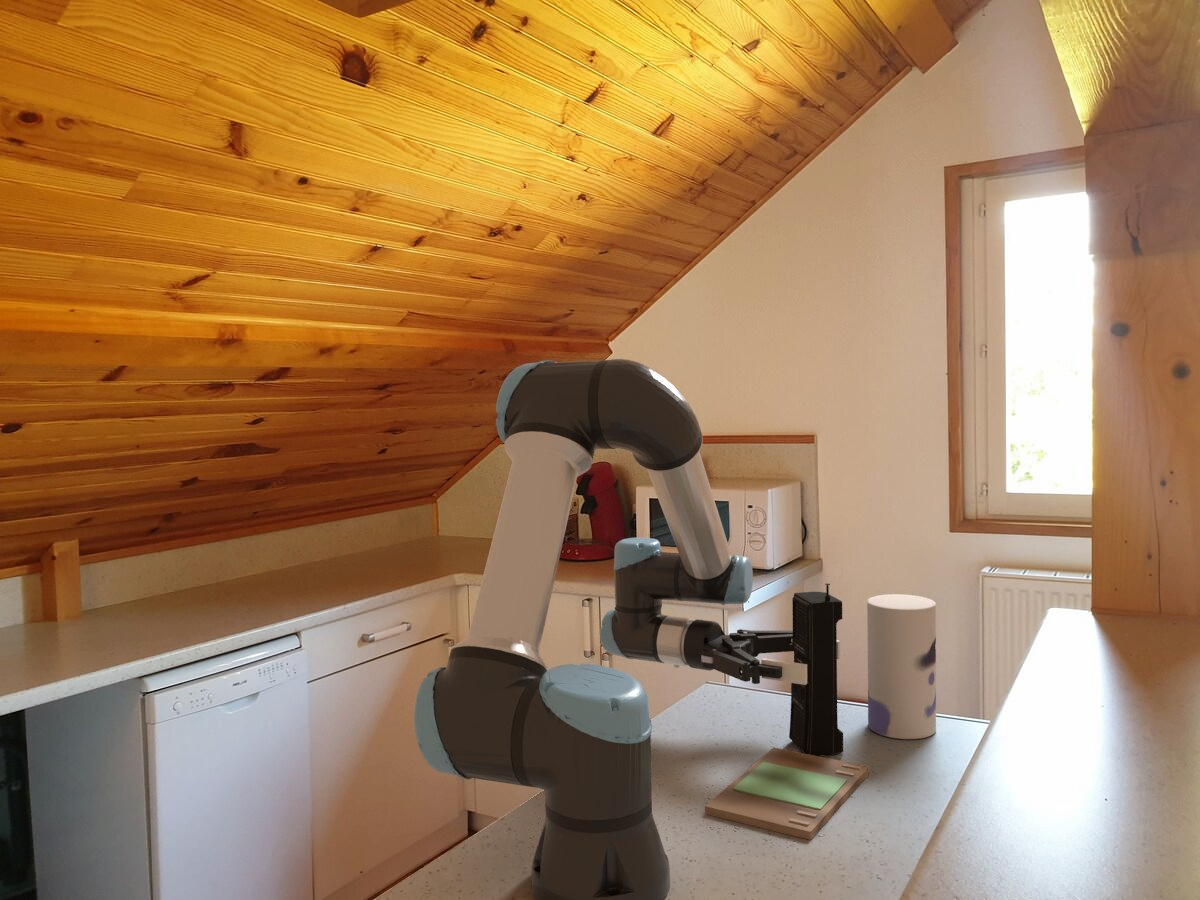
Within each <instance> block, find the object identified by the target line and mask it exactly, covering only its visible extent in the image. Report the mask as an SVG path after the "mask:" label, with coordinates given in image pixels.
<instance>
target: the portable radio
mask: <svg viewBox="0 0 1200 900" xmlns="http://www.w3.org/2000/svg"><path fill="white" fill-rule="evenodd" d="M830 585H831V583H825V587H826V589H825V590H826V591H825V592H824V591H803V592H794V594H793V597H792V599H791V600H792V601H791V602H792V604H791V605H792V631H793V649H794V651H793V662H794V663H801V664H807V684H806V685H802V684H796V683H790V685H791V687H790V715H789V716H790V721H789V732H788V733H789V735H788V738H789V739H790V740H791V742H792V743H793V744H794V745H795V746H796V747H797V748H798V749H799V751H801V753H804V754H809V755H814V756H819V757H826V756H828V757H829V756H834V755H838V754H840V753H843V752H844V732H843V731H842V730H841V729H839V728H838V727H839V726H838V665H837V664H838V659H837V640H838V639H837V634H838V633H837V625H838V623H839V622H840V620H843V601H842V600H840V599H838V598H837V597H835V596H833V595H831V594H830V592H829V591H830V590H829V589H830V588H829V586H830Z"/></svg>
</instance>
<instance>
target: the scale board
mask: <svg viewBox="0 0 1200 900" xmlns="http://www.w3.org/2000/svg"><path fill="white" fill-rule="evenodd" d="M869 775H870V766H868V765H864V764H858V763H854V762H848V761H844V760H840V759H833V758H829V757H825V756H814V755H809V754H804V753H803V752H800V751H799V752H798V751H793V750H789V749H784V748H778V747H773V748H771V749H770V750H769V751H768V752H767V753H766V754H765V755H763V756H762V757H761V758H760V759H758V760H757V761H756V762H755V763H754V764H753V765H751V766H750V767H749V768H747V770H746V771H744V772H743V773H742V774H741V775H739V776H738V777H737V778H735V780H734V781H732V782H731V783H730V784H729V785H727V787H725V788H724V789H722V791H721V792H720V793H718V794H717V795H715V797H714V798H712V799H711V800H710V801H709V802H707V803H706V804H705V806H704V814H706V815H707V816H708V815H709V816H712V817H713V816H714V817H717V818H720V819H724V820H727V821H728V820H729V821H733V822H737V823H741V824H744V825H749V826H752V827H757V828H760V829H764V830H769V831H773V832H776V833H781V834H785V835H789V836H792V837H797V838H799V839H800V838H801V839H805V840H809V841H811V840H812V839H813V838H814V837H815V836H816V835H817V833H819V831H821V829H822V828H823V827H824V826H825V825H826V823H827V822H828V821H829V820H830V819H831V818H832V817H833V815H834V814H835V813H836V812H837V811H838V809H839V808H840V807H841V806H842V805H843V804H844V803H845V801H846V800H847V799H848V798H849V797H850V796H851V795H852V794H853V793H854V792H855V791H856V789H857V788H858V787H859V786H860V785H861V784H862V782H864V780H865V779H866V778H867V777H868V776H869ZM866 776H867V777H866ZM860 783H861V784H860Z"/></svg>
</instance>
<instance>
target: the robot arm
mask: <svg viewBox="0 0 1200 900" xmlns="http://www.w3.org/2000/svg"><path fill="white" fill-rule="evenodd" d="M495 405H496V406H495V412H496V413H497V418H496V419H495V426H496V431H497V434H498V436H499V438H500V440H501V441H502V443H504V451H505V453H506V454H507V456H508V457H509V459H510V461H511V466H510V469H509V473H508V476H507V477H508V478H507V481H506V485H505V490H504V493H503V497H502V502H501V505H500V509H499V513H498V517H497V520H496V525H495V527H494V533H493V536H492V539H491V543H490V544H491V545H490V548H489V552H488V555H487V559H486V564H485V567H484V571H483V576H482V578H481V583H480V587H479V591H478V596H477V599H476V602H475V607H474V610H473V615H472V619H471V623H470V626H469V631H468V635H467V636H466V637H465V638H463V640H461V641H459V642H458V643H456V644H455V645H453V646H451V649H450V652H449V656H448V659H447V660H448V661H447V663H446V666H440V667H437V668H434V669H432V670H430V671H429V672H428V673H427V675H426V677H425V678H424V679H422V681H421V683H420V685H419V688H418V691H417V694H416V698H415V702H414V703H415V704H414V710H413V712H414V713H413V724H414V727H413V728H414V734H415V739H416V740H417V746H418V750H419V752H420V754H421V756H422V758H423V759H424V760H425V762H426V764H427V765H428V766H429V767H431V768H432V769H433V770H435V772H436V771H437V772H439V773H442V774H448V775H452V776H457V777H459V778H461V779H463V780H471V779H476V780H483V781H490V782H497V783H502V784H509V785H516V786H522V787H528V788H529V787H530V788H537V789H541V790H543V791H544V803H545V805H544V807H545V818H544V822H543V825H542V828H541V829H542V830H541V833H540V835H539V840H538V843H537V846H536V849H535V853H534V857H533V860H532V864H531V870H530V871H531V872H530V873H531V892H532V895H533V897H534V899H535V900H664V899H665V898H666V896H667V895H668V893H669V890H670V888H671V887H670V886H671V878H670V877H671V874H670V872H671V870H670V869H671V868H670V862H669V858H668V855H667V854H666V852H665V851H666V850H665V848H664V845H663V841H662V839H661V836H660V833H659V829H658V827H657V824H656V822H655V819H654V816H653V807H652V806H653V802H652V801H653V800H652V799H653V798H652V794H653V793H652V792H653V790H652V787H653V786H652V746H651V745H652V744H651V743H652V739H651V738H652V737H651V736H652V732H653V731H652V728H653V724H652V720H651V717H650V708H649V697H648V693H647V690H646V688H645V687H644V686H643V685H642V683H640V682H639V681H638V680H637V678H635V677H634V676H632V675H631V674H628V673H627V672H624V671H622V670H619V669H616V668H614V667H610V666H609V667H608V666H605V665H600V664H591V663H580V665H579V664H574V663H568V664H561V665H557V666H554V667H551V668H549V667H548V666H547V664H546V662H545V661H544V660H543V658H542V656H541V655H540V649H541V648H540V647H541V643H542V639H543V634H544V630H545V625H546V622H547V615H548V611H549V607H550V602H551V598H552V594H553V590H554V584H555V579H556V575H557V571H558V566H559V562H560V557H561V552H562V547H563V543H564V538H565V534H566V529H567V524H568V520H569V516H570V511H571V507H572V502H573V498H574V493H575V487H576V485H577V484H576V483H577V479H578V477H579V476H581V475H583V474H584V473H587V472H588V471H589V470H590V469H591V468H592V465H593V460H594V456H595V451H596V450H611V449H612V450H616V449H621V450H626V451H629V452H631V453H632V456H633V458H634V460H635V462H636V463H637V465H639V466H640V467H641V468H643V469H645V470H646V471H647V473H648V476H649V479H650V481H651V484H652V487H653V489H654V492H655V494H656V496H657V499H658V503H659V505H660V507H661V510H662V512H663V515H664V518H665V520H666V523H667V526H668V528H669V531H670V533H671V536H672V539H673V541H674V543H675V546H676V549H677V552H664V551H662V547H661V542H660V541H659V540H658V539H656V538H653V537H652V538H649V537H628V538H623V539H621V540H618V542H616V544H615V546H614V557H613V558H614V561H613V562H614V563H613V568H612V569H613V578H614V579H613V580H614V581H613V582H614V601H615V602H614V604H615V607H614V608H613V609H610V610H609V611H607V612H606V613H605V615H604V616H603V618H602V619H601V628H600V629H599V639H600V643H601V646H602V648H603V649H604V650H605V652H606V653H609V654H610V655H613V656H617V657H622V658H625V659H627V660H628V659H629V660H640V661H648V662H653V663H659V664H667V665H673V668H674V669H679V668H680V666H681V667H690V668H692V669H696V670H697V669H698V670H704V671H707V672H708V671H709V672H710V671H713V670H714V671H718V672H720V673H723V674H725V675H727V676H730V677H732V678H735V679H737V680H739V681H742V682H744V683H745V682H746V683H747V682H750V681H751V684H754V685H758V684H760V683H761V679H766V680H772V681H778V682H785V683H790V684H791V683H796V684H802V685H806V684H807V664H801V663H794V661H788V660H787V661H785V660H779V659H772V658H765V657H763V658H761V660H759V659H758V658H757V657H758V656H759V655H760V654H772V653H773V654H774V653H788V652H789V653H791V652H794V649H793V630H750V629H742V628H739V629H737V630H736V632H731V633H729V634H725V632H724V631H723V628H722V626H721V625H720V624H719V622H717V621H713V620H705V619H694V618H692V617H684V616H683V617H682V616H676V615H664V614H662V608H663V601H673V602H674V601H677V602H679V601H680V602H692V603H705V604H714V605H715V604H716V605H717V604H719V605H722V606H724V605H744V604H745V603H747V602H748V601H749V599H750V598H751V594H752V591H753V590H752V589H753V585H754V584H753V581H754V573H753V570H754V569H753V565H752V561H751V560H750V559H749V558H748V557H746V556H743V555H738V554H732V552H731V549H730V547H729V542H728V539H727V537H726V533H725V530H724V526H723V523H722V521H721V517H720V514H719V510H718V507H717V505H716V502H715V501H716V500H715V497H714V494H713V491H712V488H711V484H710V482H709V477H708V474H707V471H706V469H705V468H706V467H705V465H704V461H703V459H702V455H701V453H700V451H701V449H702V447H703V441H704V440H703V439H704V437H703V433H702V431H701V426H700V424H699V421H698V418H697V416H696V413H695V412H694V410H693V409H692V407H691V404H689V402H688V401H687V399H686V398H685V397H684V396H683V394H682V393H681V392H680V391H679V389H678V388H676V386H674V385H673V384H672V383H671V381H669V380H668V379H667V378H666V377H664V376H663V375H661V374H660V373H658V372H657V371H656V370H654V369H653V368H650V367H649V366H647V365H645V364H644V363H641V362H638V361H634V360H630V359H624V358H614V359H612V358H611V359H600V360H582V361H581V360H579V361H577V360H575V361H561V362H559V361H558V362H557V361H555V360H541V361H538V362H529V363H524V364H521V365H519V366H517V367H516V368H514V369H513V370H512V371H510V372H509V374H508V375H507V376H506V378H505V379H504V380H503V383H502V385H501V387H500V390H499V392H498V396H497V400H496V403H495ZM840 659H841V640H839V639H837V660H840ZM760 661H761V662H760ZM548 668H549V669H548Z"/></svg>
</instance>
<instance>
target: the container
mask: <svg viewBox="0 0 1200 900" xmlns="http://www.w3.org/2000/svg"><path fill="white" fill-rule="evenodd" d="M866 604H867V605H866V609H867V615H866V616H867V620H866V621H867V623H866V625H867V726H868V728H869V729H870V730H871V731H873V732H874V733H876V734H879V735H880V736H883V737H884V736H885V737H888V738H892V739H899V740H900V739H901V740H902V739H903V740H918V739H925V738H929V737H930V736H932V735H934V734H935V733H936V732H937V666H936V665H937V648H936V643H937V631H936V630H937V628H936V627H937V614H936V613H937V603H936V602H935V601H934V599H931V598H928V597H925V596H921V595H920V596H919V595H914V594H903V593H900V594H899V593H897V594H896V593H895V594H892V593H891V594H889V593H888V594H879V595H874V596H872V597H869V598H868V599H867V603H866Z"/></svg>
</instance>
